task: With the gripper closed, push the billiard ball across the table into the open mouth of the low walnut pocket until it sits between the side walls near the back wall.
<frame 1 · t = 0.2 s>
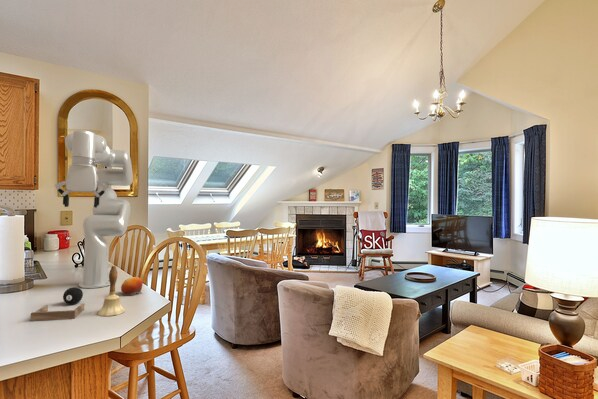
hand: (81, 207, 130), 36 cm above the kitchen counter, tool pointing down, fingers open, 9 cm apart
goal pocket: (58, 315, 112), on the kitchen counter
hand bell: (111, 313, 116), on the kitchen counter
fruit: (131, 294, 140), on the kitchen counter
billiard ball: (72, 304, 125), on the kitchen counter
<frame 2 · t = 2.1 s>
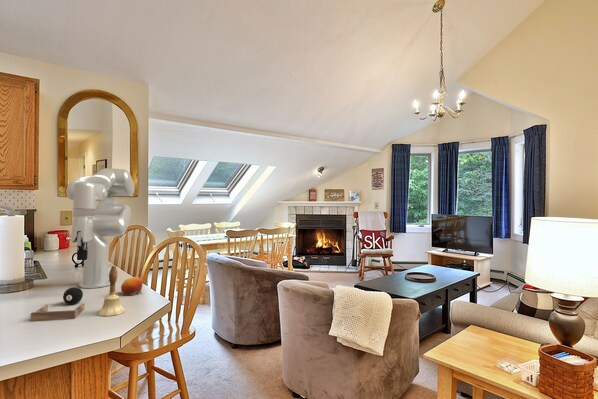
hand: (82, 259, 133), 15 cm above the kitchen counter, tool pointing down, fingers closed
nothing on the kitchen counter moved.
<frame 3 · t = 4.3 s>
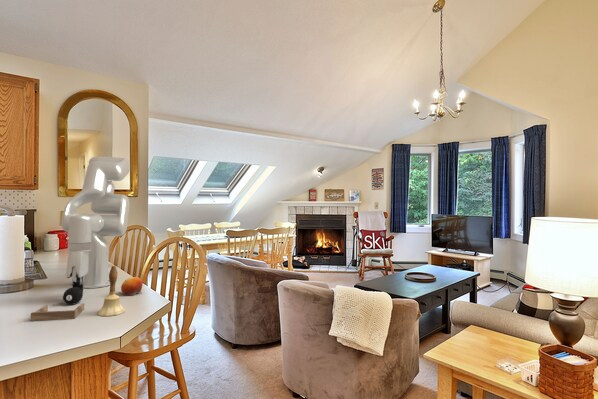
hand: (77, 294, 129), 2 cm above the kitchen counter, tool pointing down, fingers closed
billiard ball: (72, 304, 125), on the kitchen counter, touching gripper
everything else where it was.
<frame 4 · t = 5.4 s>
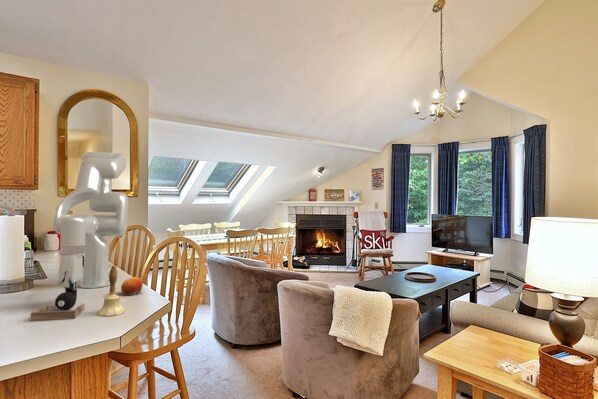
hand: (70, 300, 123), 2 cm above the kitchen counter, tool pointing down, fingers closed
billiard ball: (65, 310, 118), on the kitchen counter, touching gripper
everything else where it was.
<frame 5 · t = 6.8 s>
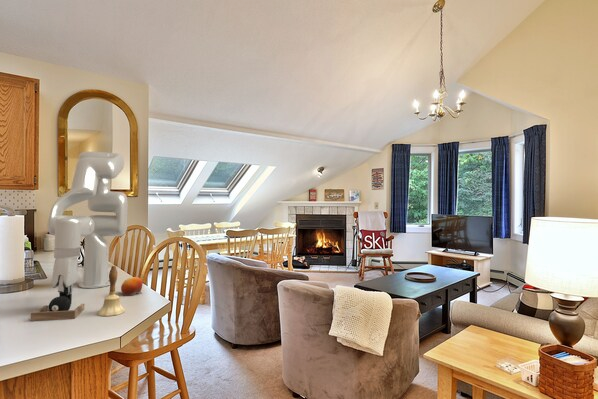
hand: (65, 305, 118), 2 cm above the kitchen counter, tool pointing down, fingers closed
billiard ball: (59, 315, 113), on the kitchen counter, touching gripper
everything else where it was.
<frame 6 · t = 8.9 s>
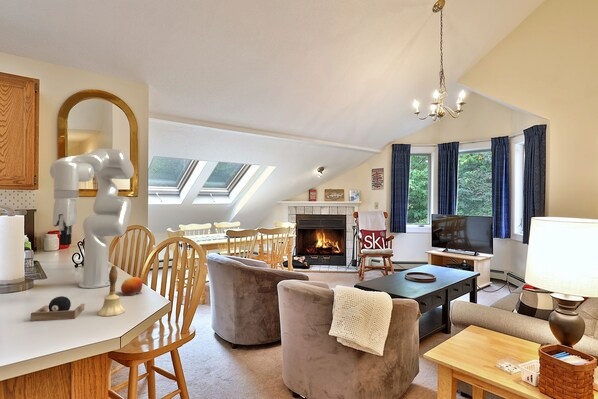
hand: (65, 244, 124), 22 cm above the kitchen counter, tool pointing down, fingers closed
billiard ball: (59, 315, 113), on the kitchen counter
everything else where it was.
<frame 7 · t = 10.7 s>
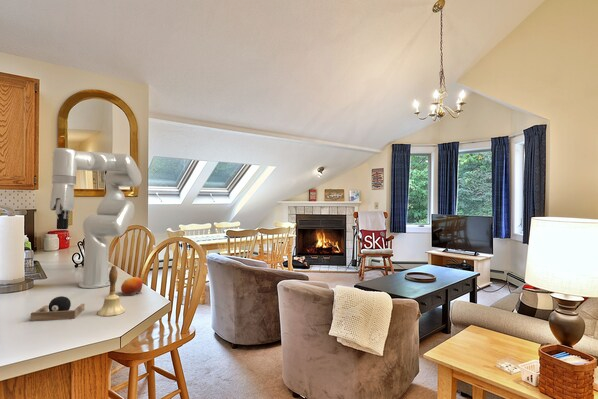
hand: (62, 229, 128), 27 cm above the kitchen counter, tool pointing down, fingers closed
nothing on the kitchen counter moved.
at the end: billiard ball inside the target area on the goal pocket (0.2 cm from its centre), point 0.0 cm above the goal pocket's base; billiard ball moved 12.6 cm from its start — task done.
